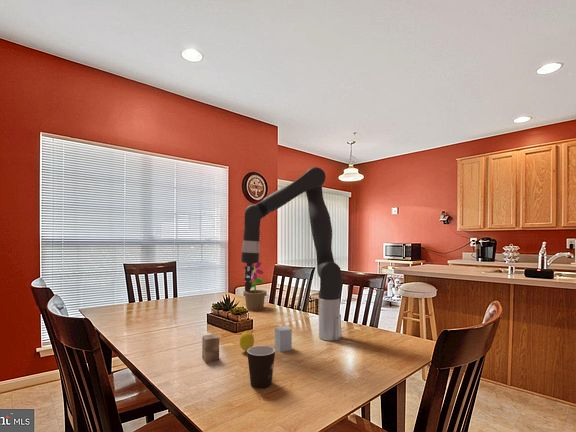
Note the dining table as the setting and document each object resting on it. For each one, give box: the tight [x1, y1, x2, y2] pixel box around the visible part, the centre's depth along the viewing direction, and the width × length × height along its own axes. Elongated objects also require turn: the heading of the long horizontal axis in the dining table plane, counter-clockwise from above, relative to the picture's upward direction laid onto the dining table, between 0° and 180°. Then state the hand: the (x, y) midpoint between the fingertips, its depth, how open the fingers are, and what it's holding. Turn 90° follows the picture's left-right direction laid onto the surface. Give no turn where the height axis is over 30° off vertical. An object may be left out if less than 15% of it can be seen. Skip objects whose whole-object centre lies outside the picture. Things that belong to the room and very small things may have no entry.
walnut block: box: [201, 333, 220, 363], centre depth 120 cm, size 5×5×8 cm
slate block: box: [274, 325, 293, 353], centre depth 130 cm, size 5×5×8 cm
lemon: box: [239, 330, 255, 353], centre depth 127 cm, size 6×6×8 cm
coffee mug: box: [246, 344, 276, 390], centre depth 102 cm, size 12×9×10 cm
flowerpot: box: [242, 261, 267, 312], centre depth 200 cm, size 14×14×30 cm
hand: (248, 290), depth 139 cm, fingers open, 8 cm apart
